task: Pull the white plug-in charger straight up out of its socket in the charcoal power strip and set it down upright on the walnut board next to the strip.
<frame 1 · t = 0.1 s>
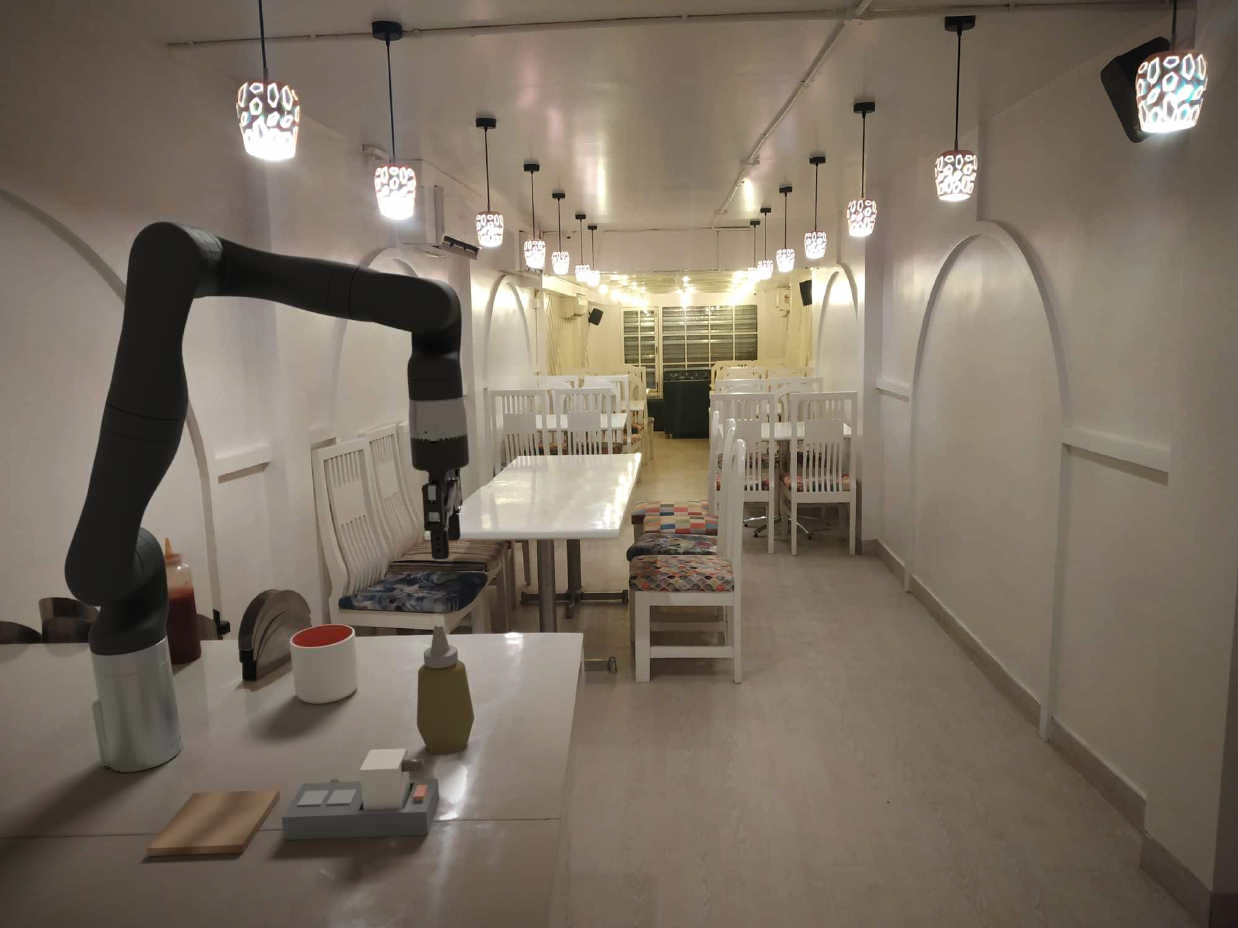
hand: (447, 548, 112), 29 cm above the table, tool pointing down, fingers open, 8 cm apart
charger: (388, 810, 100), point 1 cm above the table, touching power strip
walnut board: (217, 824, 100), on the table
power strip: (364, 818, 101), on the table
squeeze bottle: (447, 745, 117), on the table
cup: (328, 693, 135), on the table
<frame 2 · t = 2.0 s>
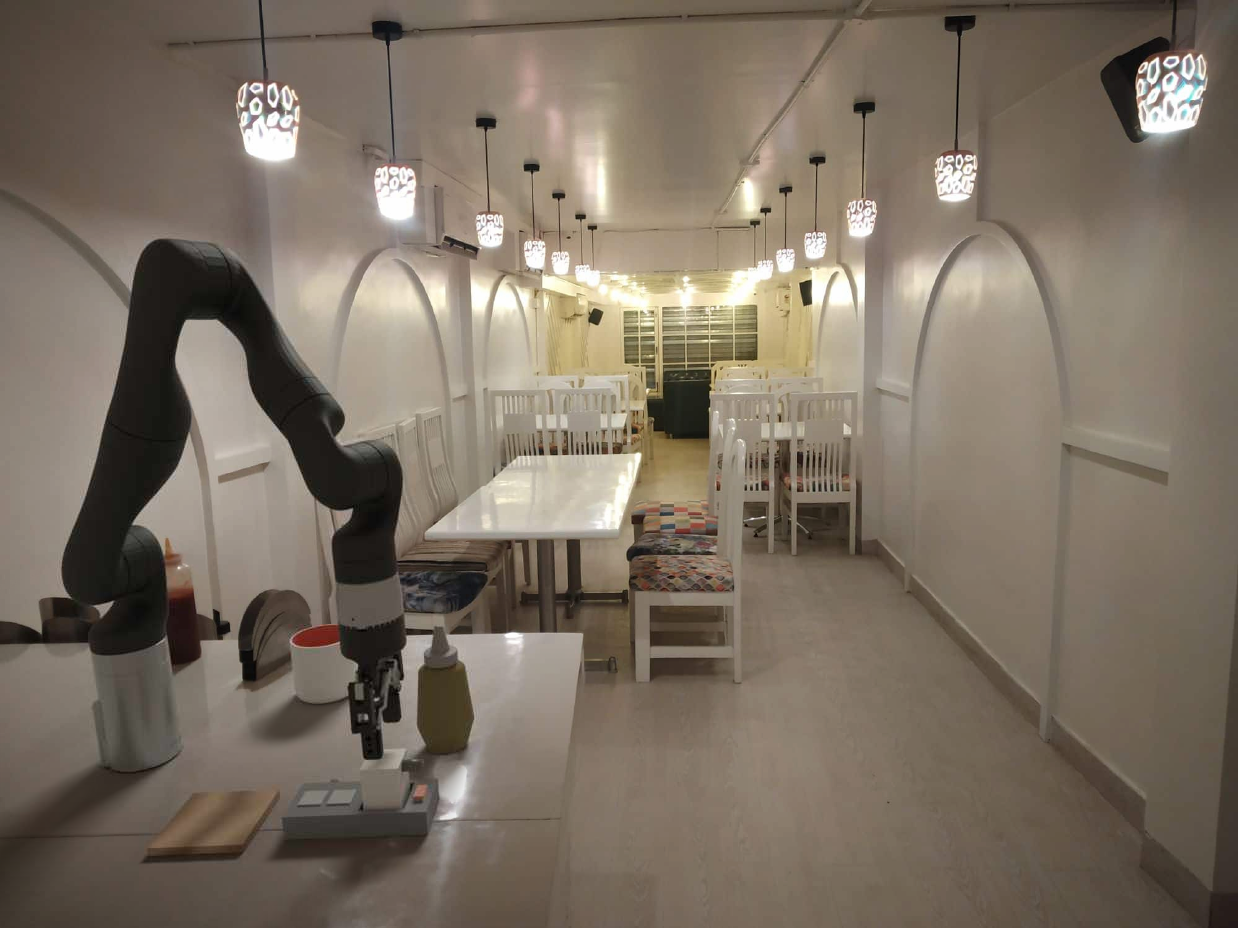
hand: (383, 739, 99), 11 cm above the table, tool pointing down, fingers open, 8 cm apart
nothing on the table moved.
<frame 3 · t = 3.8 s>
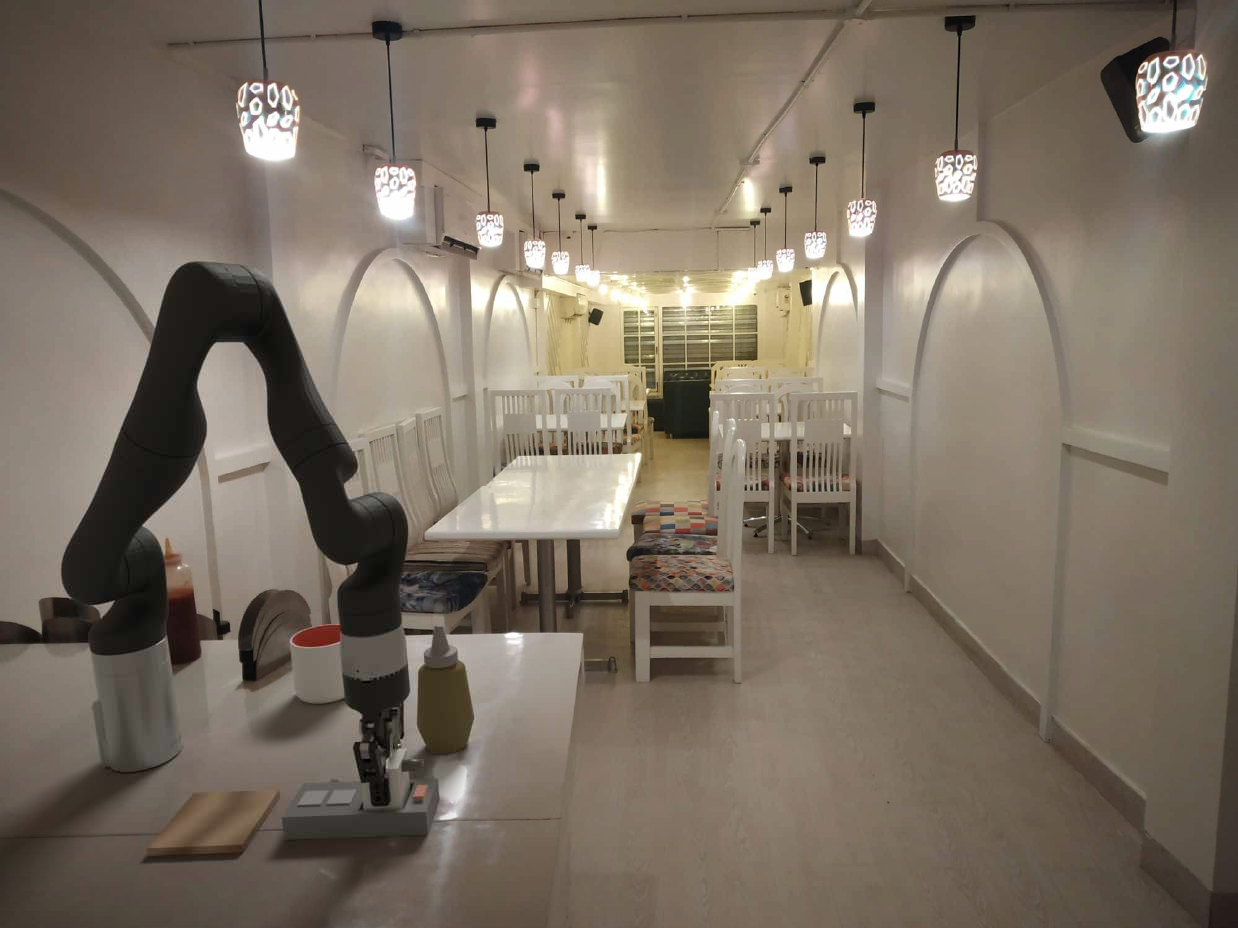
hand: (386, 791, 100), 4 cm above the table, tool pointing down, fingers closed on charger, 4 cm apart
charger: (388, 810, 100), point 1 cm above the table, touching gripper, power strip
everything else where it was.
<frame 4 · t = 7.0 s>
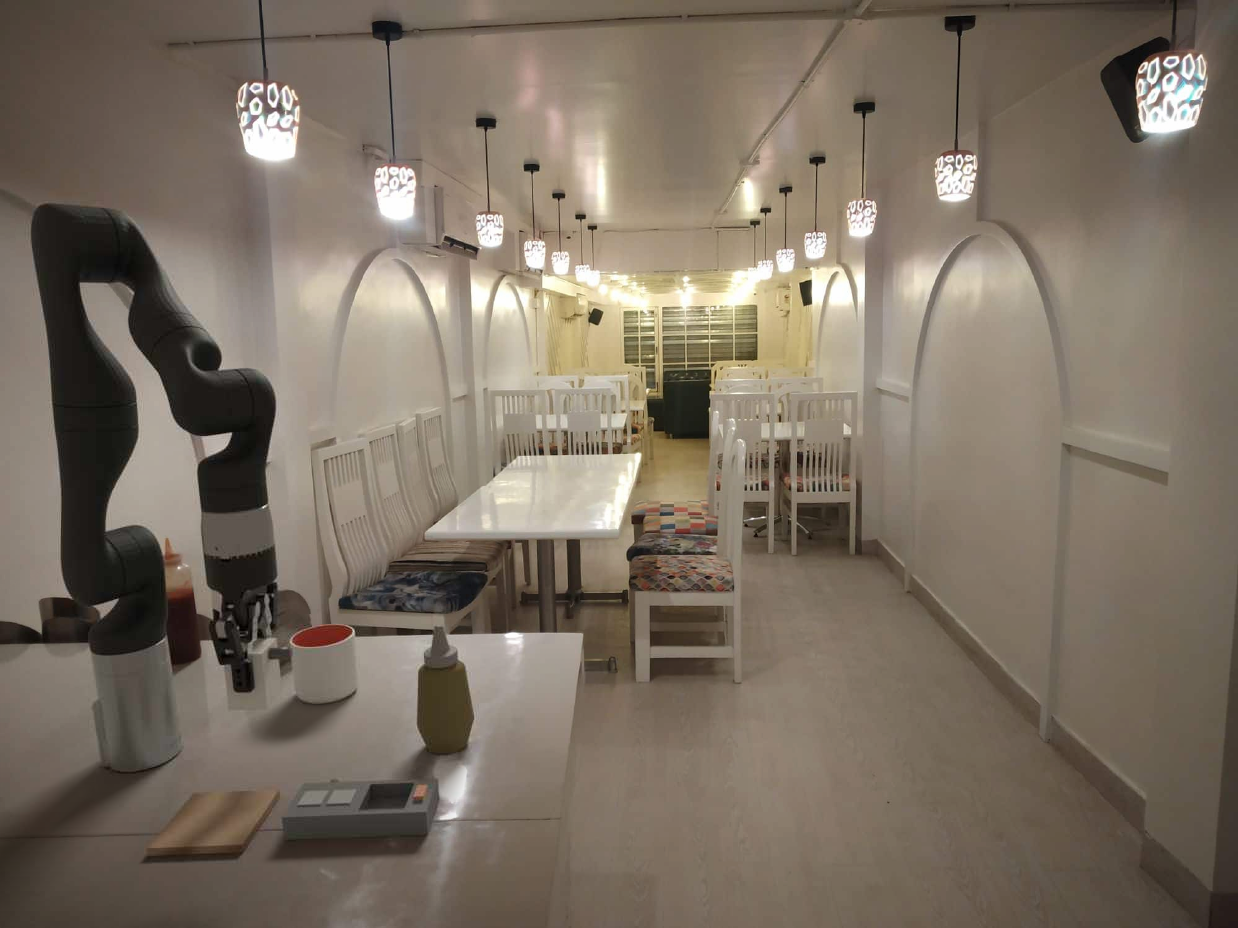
hand: (253, 680, 97), 19 cm above the table, tool pointing down, fingers closed on charger, 4 cm apart
charger: (255, 700, 98), point 16 cm above the table, touching gripper
everything else where it was.
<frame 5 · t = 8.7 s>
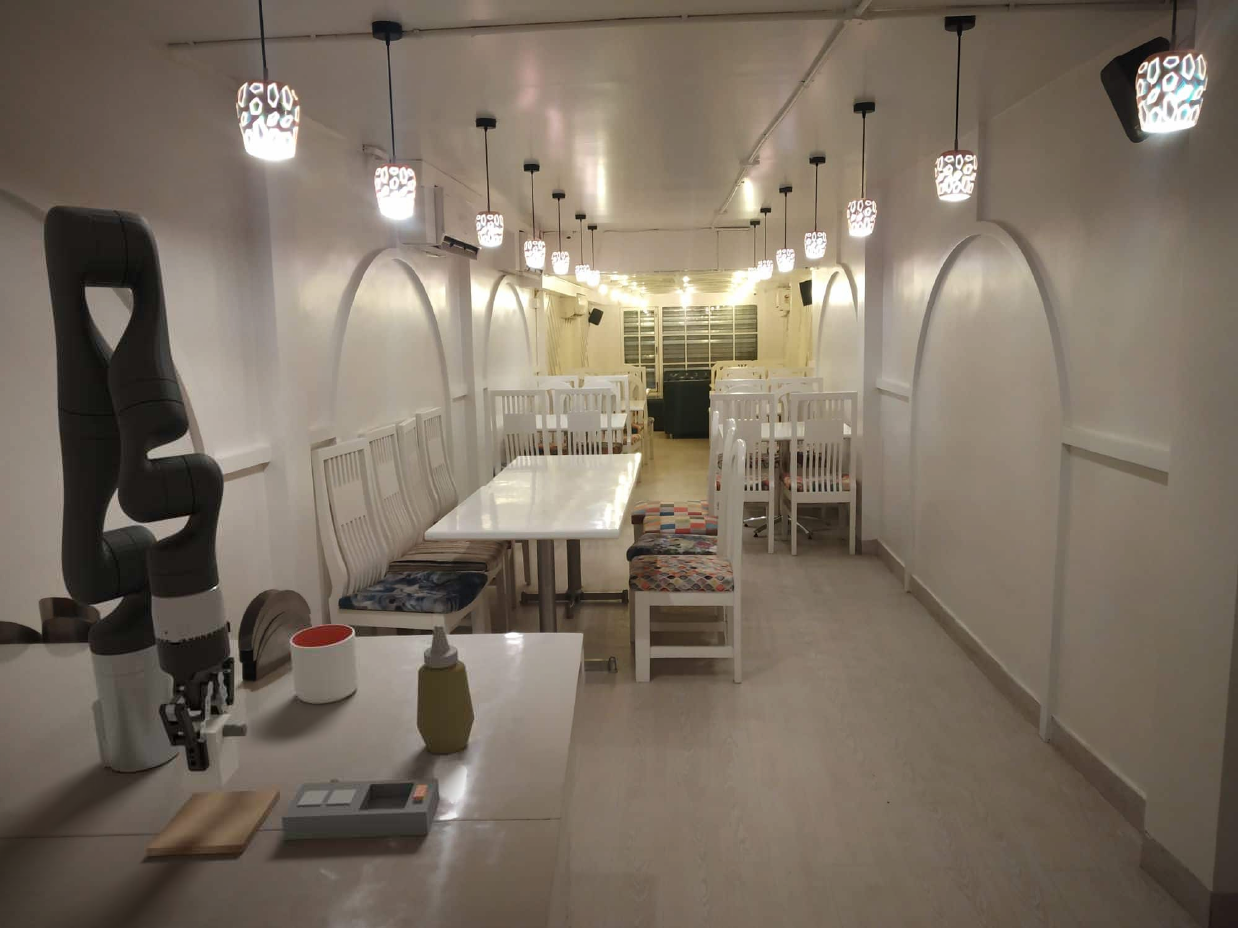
hand: (209, 757, 99), 9 cm above the table, tool pointing down, fingers closed on charger, 4 cm apart
charger: (212, 776, 99), point 6 cm above the table, touching gripper
everything else where it was.
when the fingers open (5 cm above the table, at t = 10.3 s): charger drops 1 cm, resting on walnut board.
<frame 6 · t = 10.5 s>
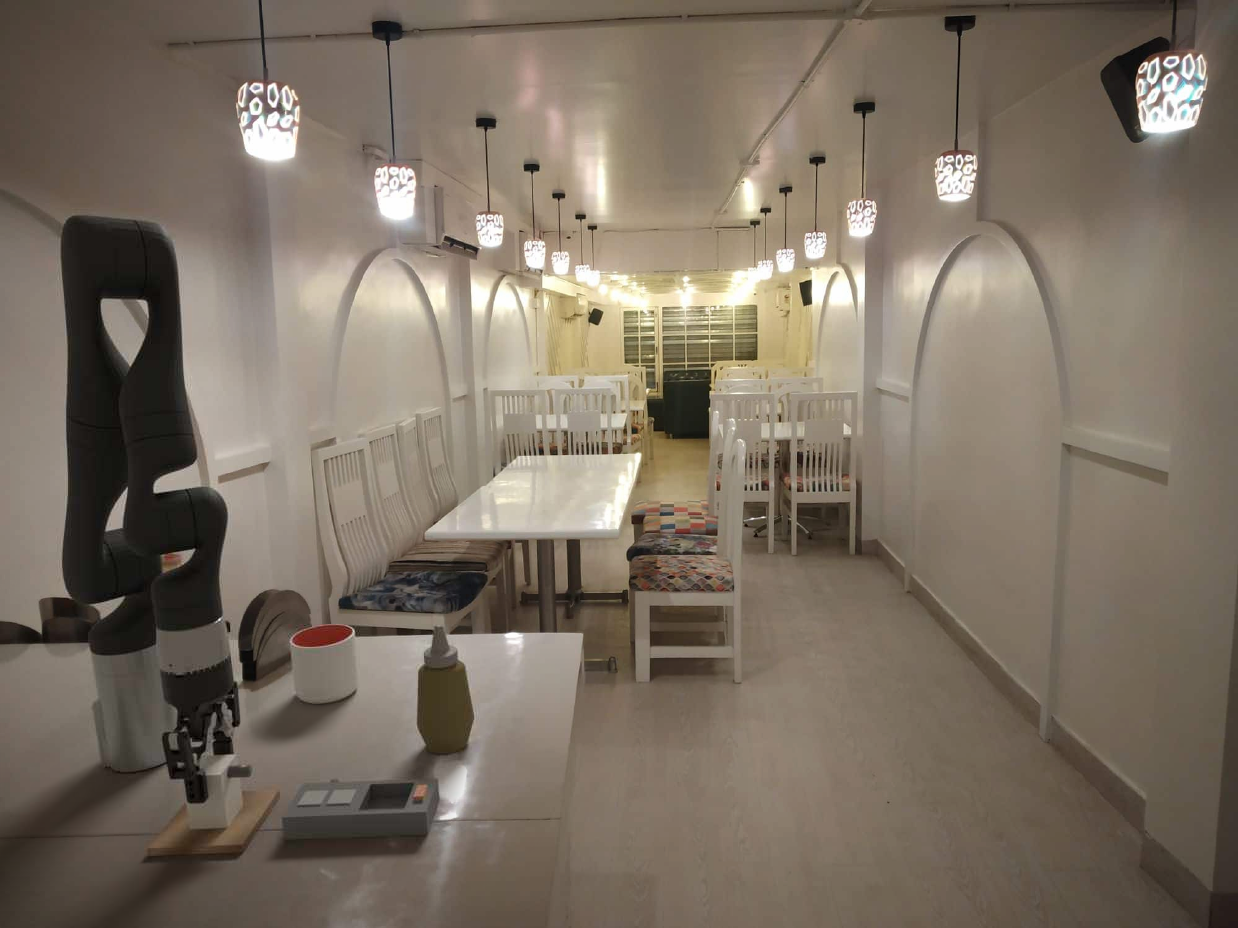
hand: (212, 783, 99), 5 cm above the table, tool pointing down, fingers open, 6 cm apart
charger: (217, 816, 100), point 1 cm above the table, touching walnut board
everything else where it was.
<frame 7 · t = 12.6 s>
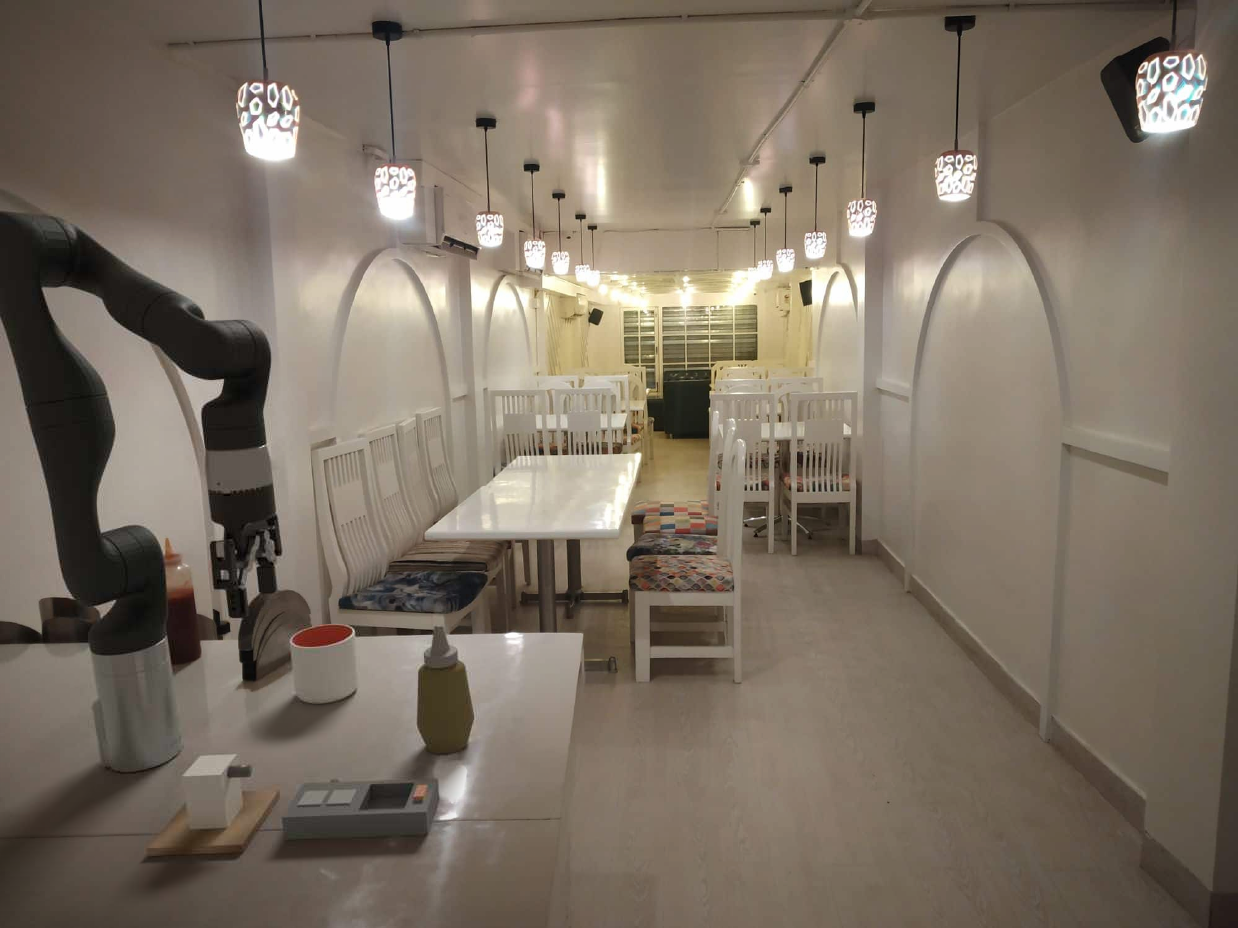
hand: (254, 604, 105), 25 cm above the table, tool pointing down, fingers open, 8 cm apart
nothing on the table moved.
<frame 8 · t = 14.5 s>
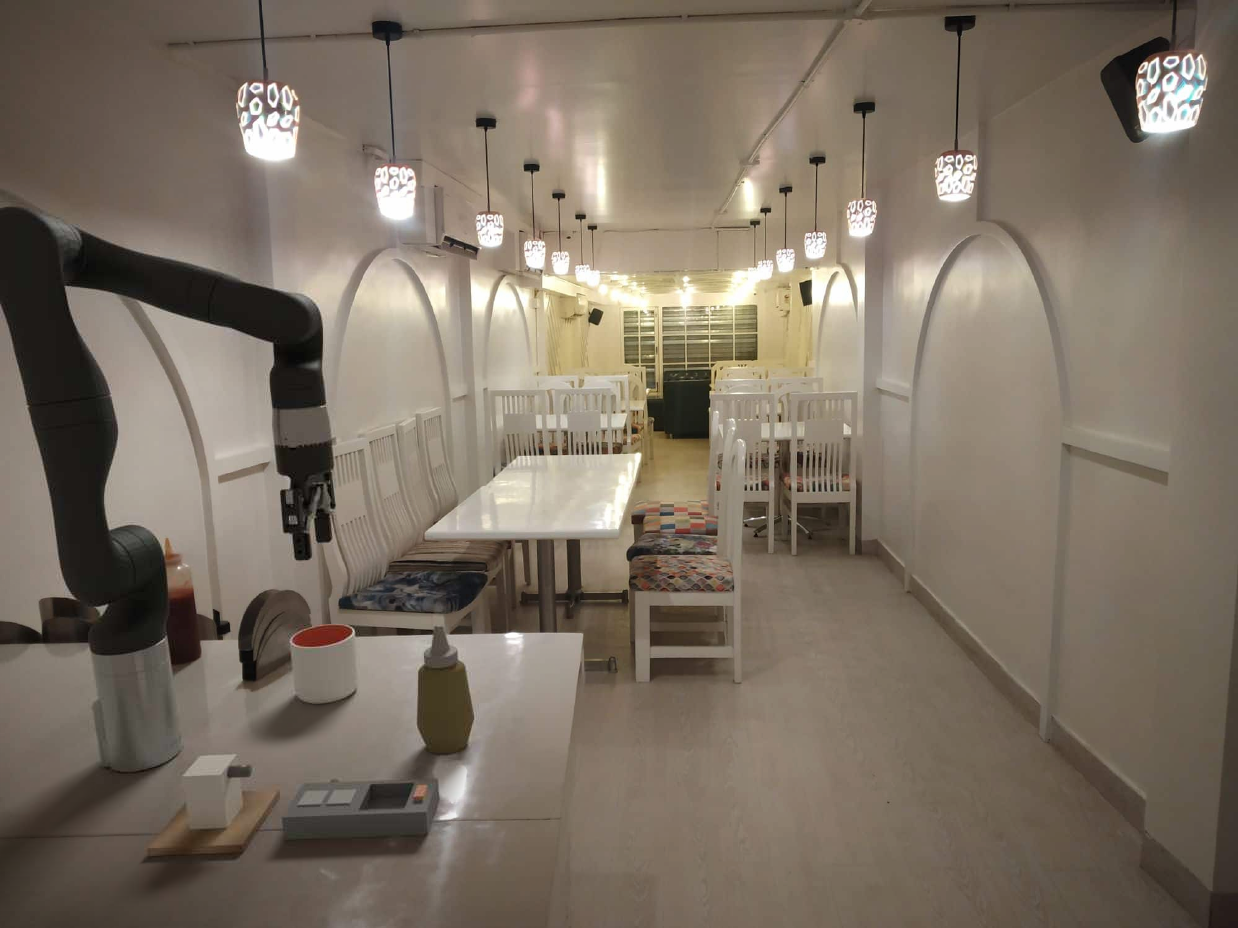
hand: (314, 550, 117), 28 cm above the table, tool pointing down, fingers open, 8 cm apart
nothing on the table moved.
at the end: charger inside the target area on the walnut board (0.1 cm from its centre), point 1.0 cm above the walnut board's base; charger tilted 0°; the gripper is holding nothing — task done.
